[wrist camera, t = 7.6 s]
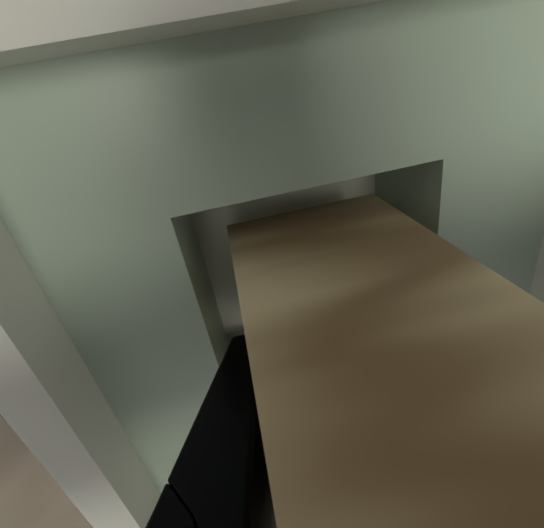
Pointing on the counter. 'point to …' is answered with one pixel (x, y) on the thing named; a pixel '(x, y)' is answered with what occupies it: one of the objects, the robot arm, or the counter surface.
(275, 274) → the maple peg
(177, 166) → the open box
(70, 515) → the counter surface
